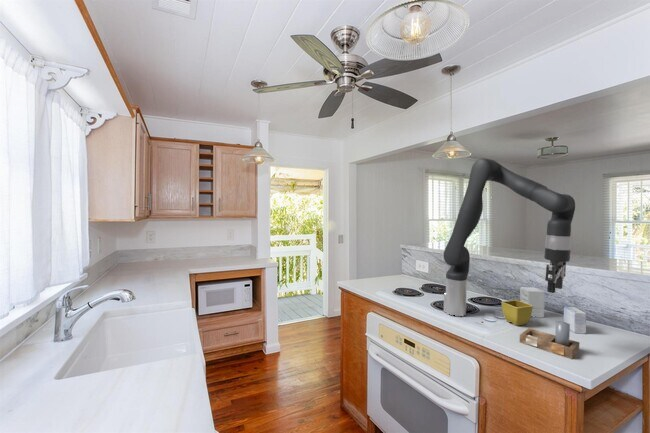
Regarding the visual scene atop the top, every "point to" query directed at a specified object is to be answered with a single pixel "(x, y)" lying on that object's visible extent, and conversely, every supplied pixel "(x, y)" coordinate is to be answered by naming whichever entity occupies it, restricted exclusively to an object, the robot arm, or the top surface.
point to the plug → (562, 333)
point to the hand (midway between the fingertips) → (554, 290)
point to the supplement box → (533, 299)
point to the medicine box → (575, 319)
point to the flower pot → (516, 312)
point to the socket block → (548, 343)
